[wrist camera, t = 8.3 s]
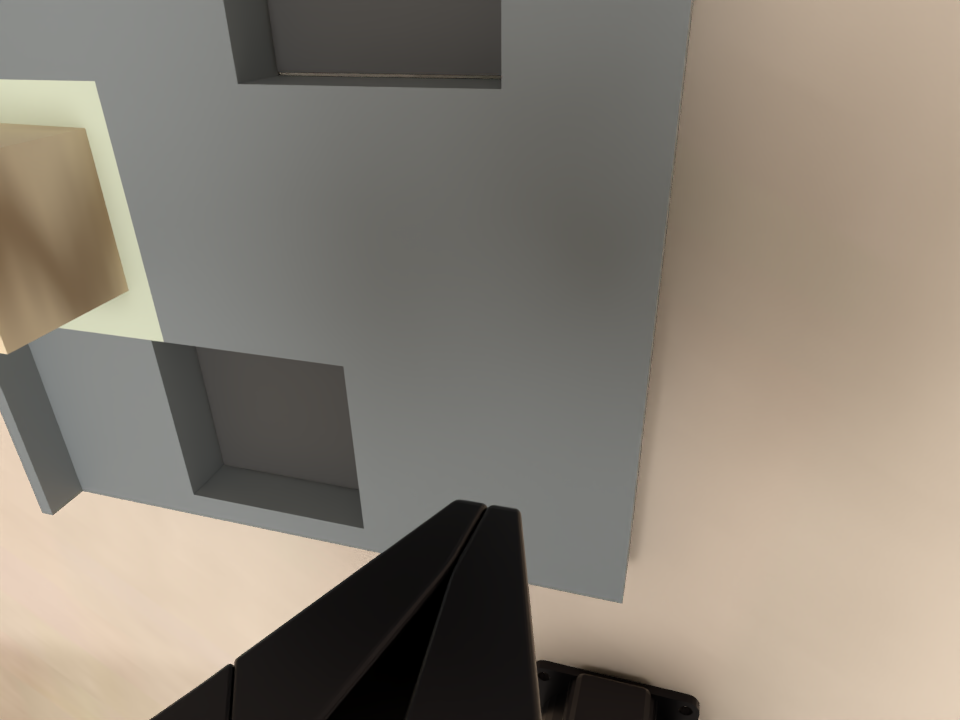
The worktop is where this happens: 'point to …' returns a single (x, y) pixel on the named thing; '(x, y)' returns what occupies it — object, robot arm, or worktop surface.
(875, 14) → the worktop surface
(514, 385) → the board
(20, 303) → the maple block
